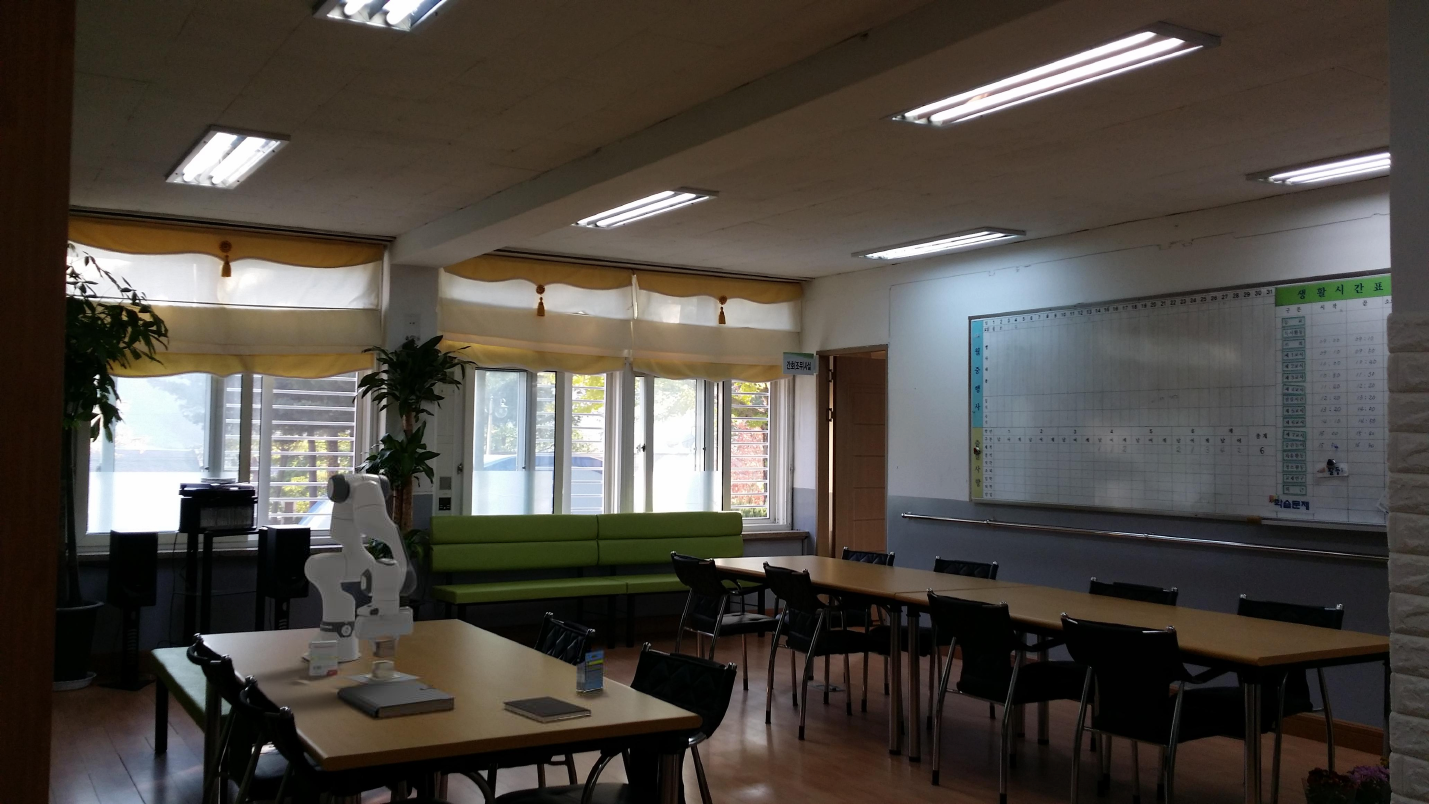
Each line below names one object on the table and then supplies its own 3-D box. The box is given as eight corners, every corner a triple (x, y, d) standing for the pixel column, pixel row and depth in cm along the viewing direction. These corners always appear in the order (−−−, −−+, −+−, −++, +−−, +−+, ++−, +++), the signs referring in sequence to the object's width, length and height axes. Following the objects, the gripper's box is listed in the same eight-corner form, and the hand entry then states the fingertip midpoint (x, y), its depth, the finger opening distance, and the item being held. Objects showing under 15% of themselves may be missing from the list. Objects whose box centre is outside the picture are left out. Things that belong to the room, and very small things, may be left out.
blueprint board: (343, 680, 358) (343, 675, 358) (392, 673, 371) (392, 669, 371) (371, 687, 345) (372, 683, 345) (421, 680, 358) (421, 676, 359)
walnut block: (372, 656, 358) (373, 640, 359) (386, 654, 362) (387, 639, 362) (380, 658, 355) (381, 642, 355) (394, 656, 359) (395, 641, 359)
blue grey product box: (594, 687, 353) (595, 648, 354) (603, 688, 351) (604, 650, 351) (575, 691, 346) (576, 652, 346) (584, 692, 343) (585, 653, 344)
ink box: (335, 674, 367) (337, 639, 368) (337, 677, 362) (338, 641, 363) (308, 676, 363) (310, 640, 364) (310, 679, 359) (311, 642, 360)
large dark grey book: (456, 695, 318) (374, 706, 303) (455, 710, 318) (374, 721, 303) (413, 678, 344) (337, 687, 330) (413, 691, 344) (336, 700, 329)
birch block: (371, 677, 358) (372, 662, 358) (385, 675, 362) (386, 660, 362) (379, 679, 355) (380, 663, 355) (393, 677, 358) (393, 662, 359)
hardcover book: (542, 724, 301) (542, 716, 301) (502, 710, 319) (503, 702, 319) (591, 717, 311) (591, 709, 311) (550, 703, 329) (550, 695, 329)
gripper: (407, 605, 369) (406, 646, 368) (352, 609, 354) (350, 652, 353) (417, 606, 365) (416, 648, 364) (362, 611, 350) (360, 654, 349)
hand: (383, 650), depth 359 cm, fingers closed on walnut block, 5 cm apart
